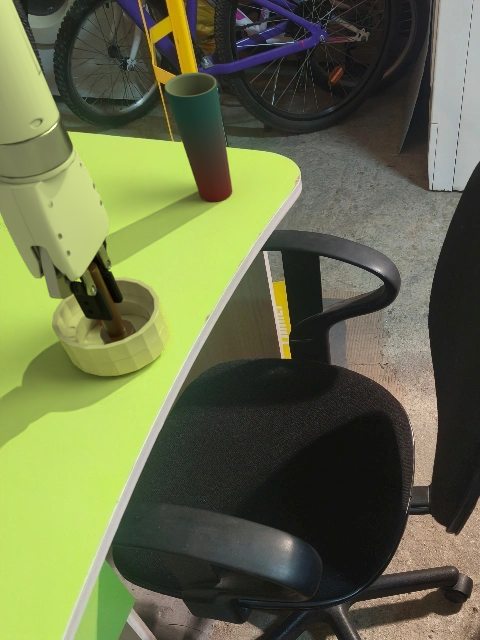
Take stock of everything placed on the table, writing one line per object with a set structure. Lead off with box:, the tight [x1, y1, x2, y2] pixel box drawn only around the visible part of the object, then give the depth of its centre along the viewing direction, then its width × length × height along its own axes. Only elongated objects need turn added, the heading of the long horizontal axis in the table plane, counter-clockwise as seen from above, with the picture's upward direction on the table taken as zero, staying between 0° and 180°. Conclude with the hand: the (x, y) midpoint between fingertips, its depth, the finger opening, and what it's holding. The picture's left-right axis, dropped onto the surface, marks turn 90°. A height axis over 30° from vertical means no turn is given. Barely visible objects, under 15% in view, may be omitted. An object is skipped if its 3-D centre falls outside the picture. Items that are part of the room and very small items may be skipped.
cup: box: [164, 71, 233, 203], centre depth 83 cm, size 7×7×15 cm
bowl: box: [51, 276, 171, 377], centre depth 70 cm, size 12×12×5 cm
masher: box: [87, 262, 136, 345], centre depth 66 cm, size 4×4×10 cm
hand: (105, 308), depth 67 cm, fingers closed on masher, 2 cm apart
